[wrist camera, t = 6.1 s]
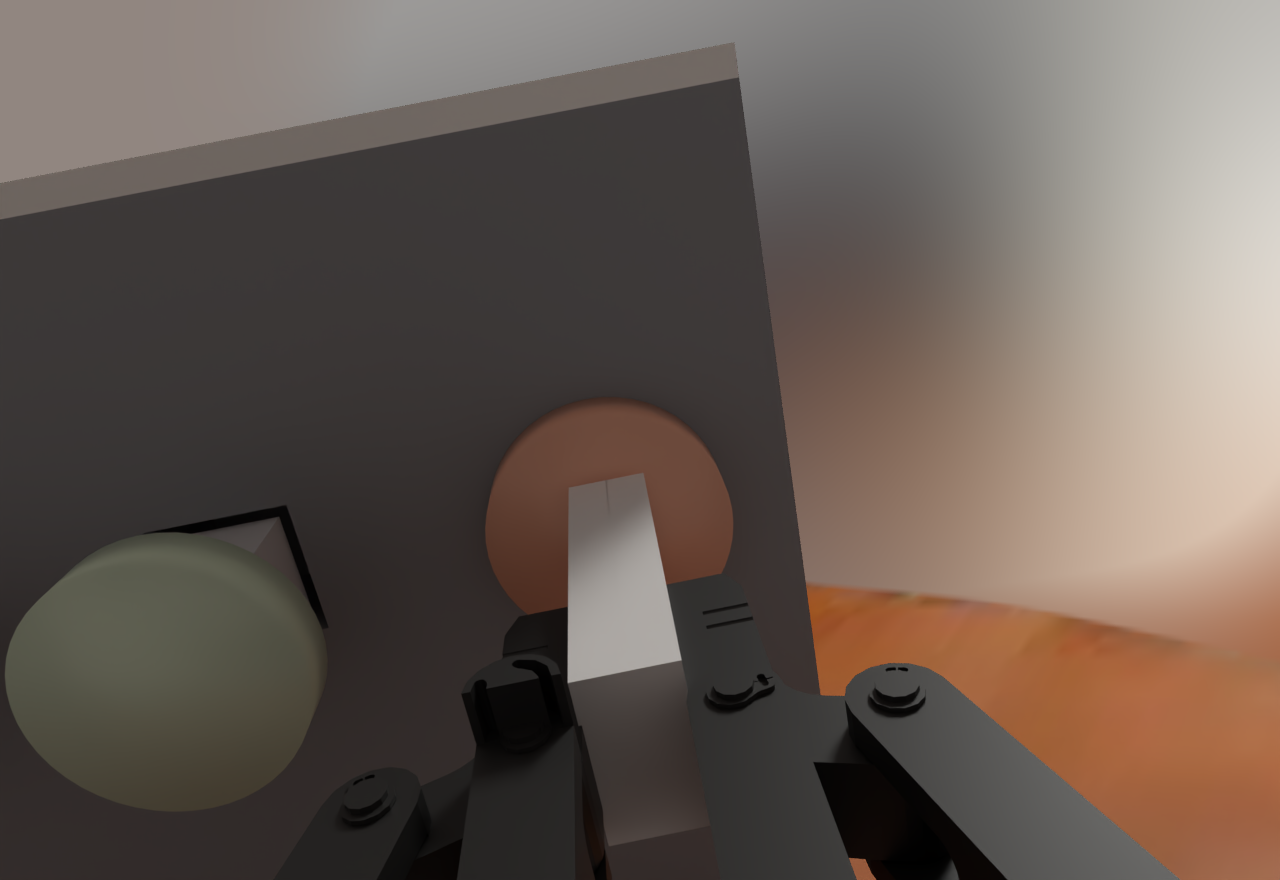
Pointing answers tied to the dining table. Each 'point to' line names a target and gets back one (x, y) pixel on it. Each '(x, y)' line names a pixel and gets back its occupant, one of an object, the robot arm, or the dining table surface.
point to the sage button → (172, 667)
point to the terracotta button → (591, 452)
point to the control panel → (377, 403)
